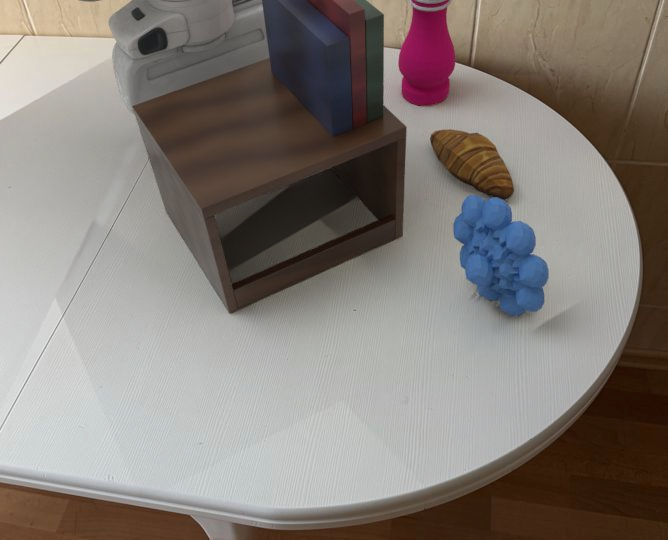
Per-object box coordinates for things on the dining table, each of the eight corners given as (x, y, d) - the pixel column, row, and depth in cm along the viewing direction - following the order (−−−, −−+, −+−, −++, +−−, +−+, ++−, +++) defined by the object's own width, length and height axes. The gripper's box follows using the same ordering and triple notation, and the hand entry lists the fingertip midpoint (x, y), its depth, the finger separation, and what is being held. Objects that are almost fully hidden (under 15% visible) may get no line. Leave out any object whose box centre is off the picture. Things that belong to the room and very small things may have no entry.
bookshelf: (166, 212, 82) (96, -5, 62) (324, 150, 87) (307, -69, 67) (229, 314, 72) (171, 95, 52) (402, 236, 77) (411, 11, 57)
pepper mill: (386, 92, 94) (387, -69, 78) (424, 70, 96) (433, -90, 80) (425, 115, 90) (435, -48, 74) (463, 91, 93) (481, -72, 77)
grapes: (420, 285, 73) (426, 196, 63) (467, 254, 75) (480, 164, 66) (503, 354, 67) (523, 267, 57) (551, 319, 69) (578, 229, 60)
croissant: (410, 155, 86) (412, 120, 82) (453, 133, 88) (457, 98, 84) (485, 215, 79) (490, 180, 75) (530, 191, 81) (537, 155, 77)
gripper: (264, -32, 80) (279, 78, 91) (93, 24, 75) (130, 133, 86) (290, -10, 77) (302, 102, 88) (112, 50, 71) (149, 161, 82)
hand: (216, 118), depth 87 cm, fingers closed
